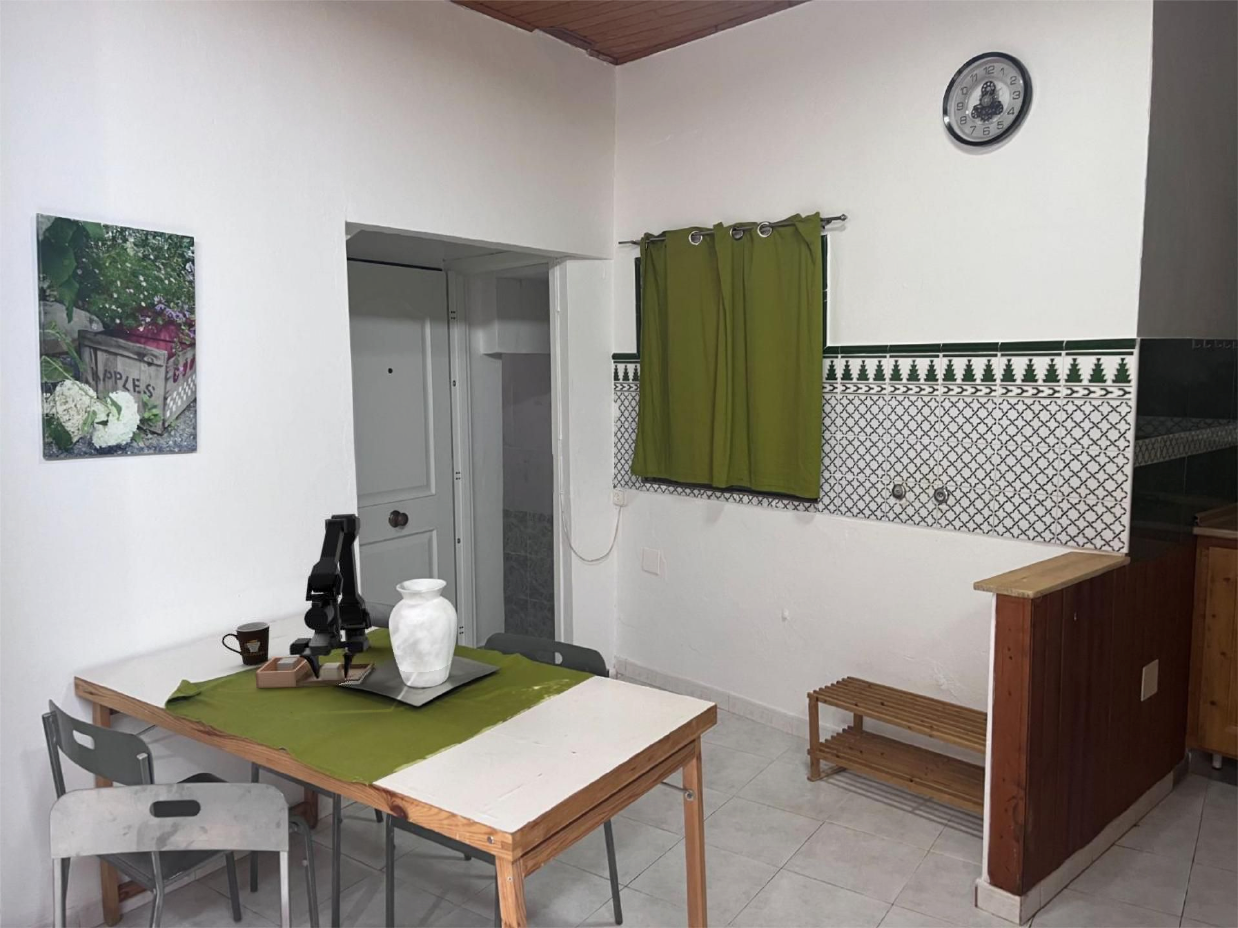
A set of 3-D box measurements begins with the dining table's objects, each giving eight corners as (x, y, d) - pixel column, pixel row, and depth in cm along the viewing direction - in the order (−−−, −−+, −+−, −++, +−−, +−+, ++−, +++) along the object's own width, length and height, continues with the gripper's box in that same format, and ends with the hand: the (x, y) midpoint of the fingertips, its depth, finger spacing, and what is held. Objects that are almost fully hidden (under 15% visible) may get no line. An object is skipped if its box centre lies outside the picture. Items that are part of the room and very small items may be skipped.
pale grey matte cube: (284, 672, 236) (283, 658, 236) (299, 672, 236) (298, 657, 235) (278, 678, 232) (277, 663, 232) (293, 677, 232) (292, 662, 232)
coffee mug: (277, 656, 252) (275, 621, 251) (262, 666, 243) (259, 630, 242) (238, 656, 253) (235, 621, 252) (222, 666, 245) (219, 631, 243)
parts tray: (314, 670, 239) (313, 664, 238) (374, 669, 238) (373, 662, 238) (296, 688, 226) (295, 681, 225) (359, 686, 225) (359, 679, 225)
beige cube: (327, 677, 231) (325, 662, 230) (342, 677, 231) (341, 662, 230) (321, 683, 227) (320, 668, 227) (337, 682, 227) (336, 667, 226)
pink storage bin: (275, 673, 238) (273, 656, 237) (312, 672, 238) (311, 655, 237) (256, 689, 226) (255, 672, 225) (296, 688, 226) (294, 671, 225)
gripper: (278, 629, 219) (283, 690, 221) (354, 626, 219) (359, 688, 221) (295, 616, 230) (300, 674, 232) (367, 613, 230) (371, 672, 232)
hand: (332, 677), depth 229 cm, fingers open, 7 cm apart
